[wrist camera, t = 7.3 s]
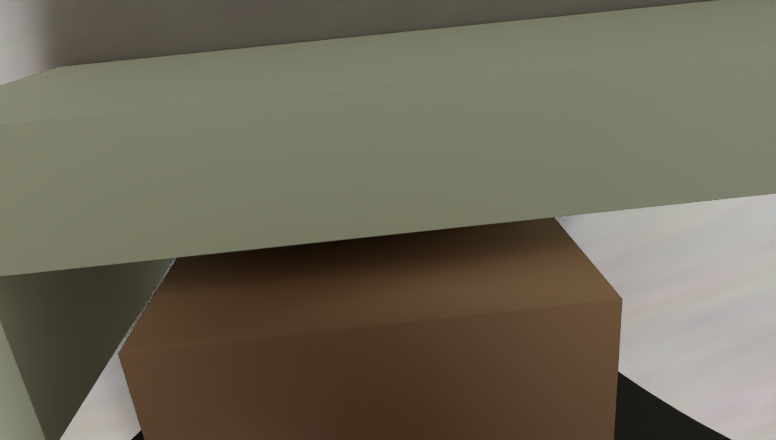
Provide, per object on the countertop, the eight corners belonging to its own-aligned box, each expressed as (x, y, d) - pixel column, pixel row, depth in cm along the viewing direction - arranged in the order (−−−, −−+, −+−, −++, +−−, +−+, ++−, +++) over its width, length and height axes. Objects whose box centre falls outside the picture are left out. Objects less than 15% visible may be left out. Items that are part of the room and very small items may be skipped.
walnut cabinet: (485, 135, 11) (677, 365, 5) (494, 404, 13) (631, 815, 7) (236, 161, 11) (68, 432, 4) (287, 428, 13) (225, 865, 7)
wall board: (1226, -52, 11) (1914, -73, 6) (1032, 448, 15) (1348, 667, 10) (29, 69, 10) (-240, 148, 6) (175, 547, 14) (92, 822, 10)
